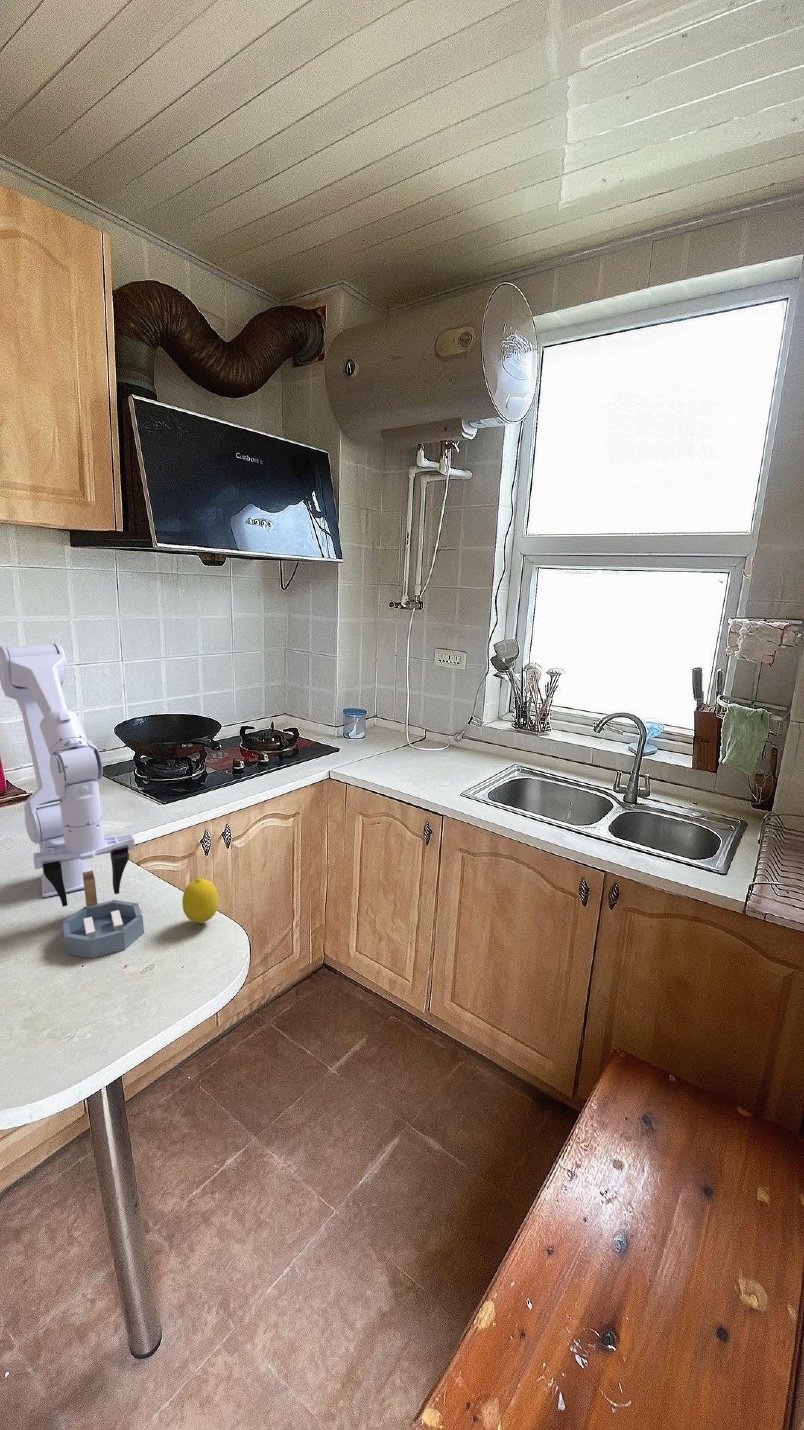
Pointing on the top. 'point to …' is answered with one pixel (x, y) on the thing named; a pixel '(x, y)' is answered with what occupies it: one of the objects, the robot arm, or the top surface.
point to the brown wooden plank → (89, 888)
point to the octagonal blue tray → (102, 929)
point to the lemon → (200, 900)
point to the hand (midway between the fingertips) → (91, 897)
